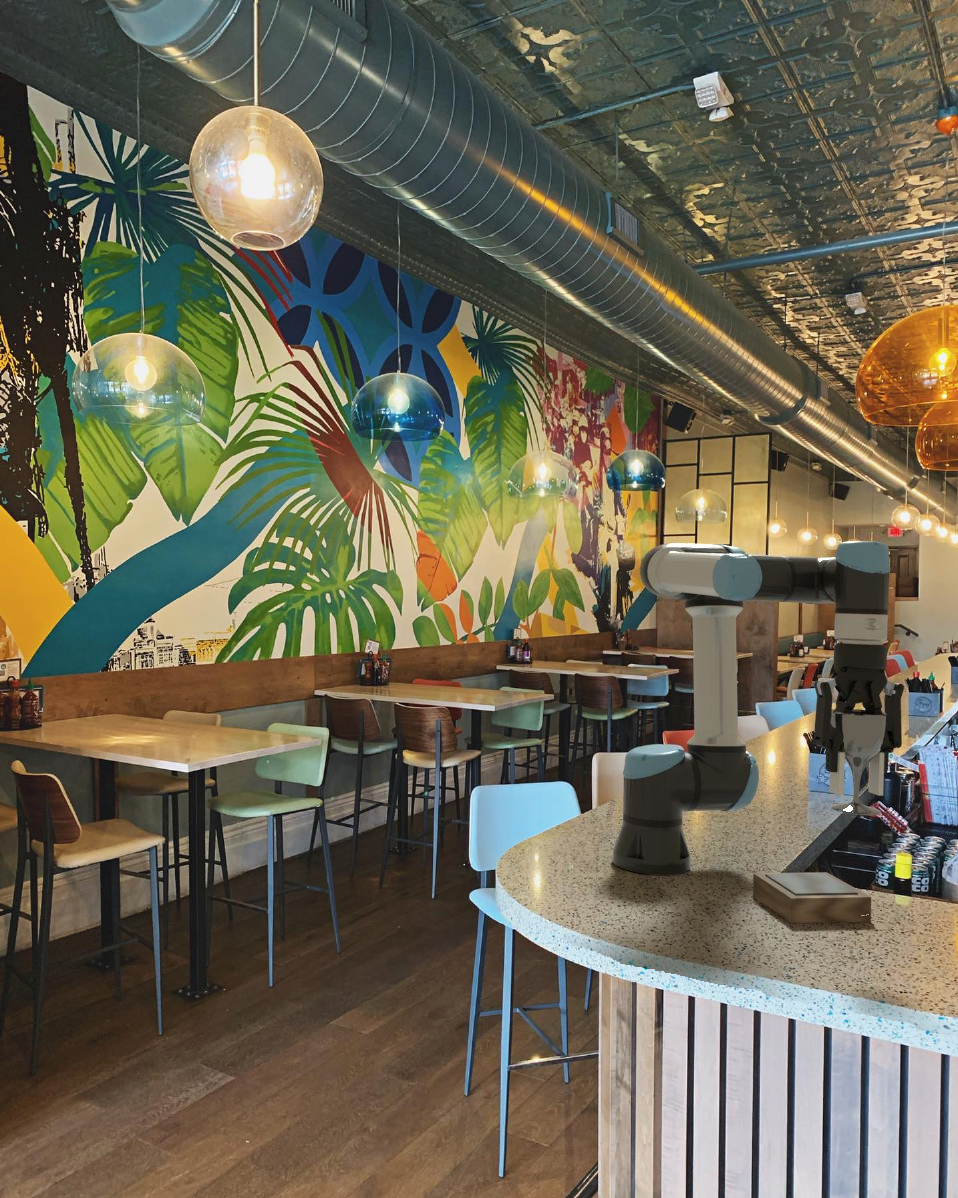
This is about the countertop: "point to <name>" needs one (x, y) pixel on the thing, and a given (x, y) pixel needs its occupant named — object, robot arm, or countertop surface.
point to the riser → (811, 897)
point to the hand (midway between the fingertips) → (856, 793)
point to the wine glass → (859, 750)
